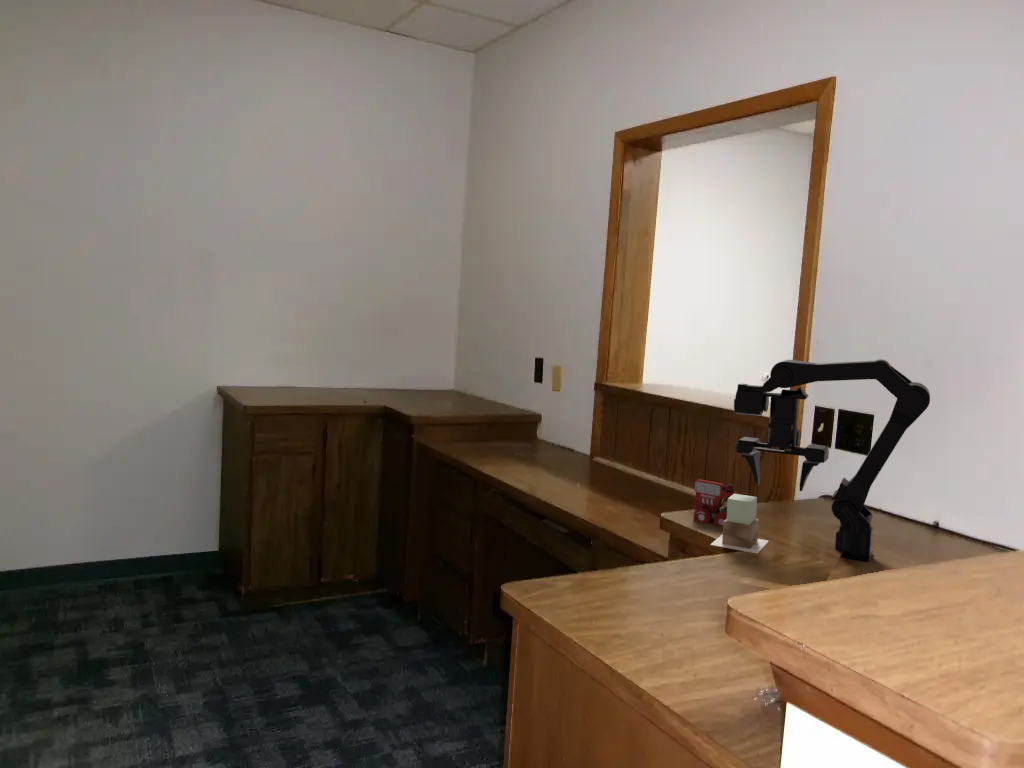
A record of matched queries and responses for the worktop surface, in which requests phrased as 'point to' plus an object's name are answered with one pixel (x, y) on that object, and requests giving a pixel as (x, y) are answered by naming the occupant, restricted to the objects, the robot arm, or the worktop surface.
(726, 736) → the worktop surface
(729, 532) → the walnut block
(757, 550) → the build pad
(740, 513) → the sage cube
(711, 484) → the toy fire truck
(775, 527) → the worktop surface
